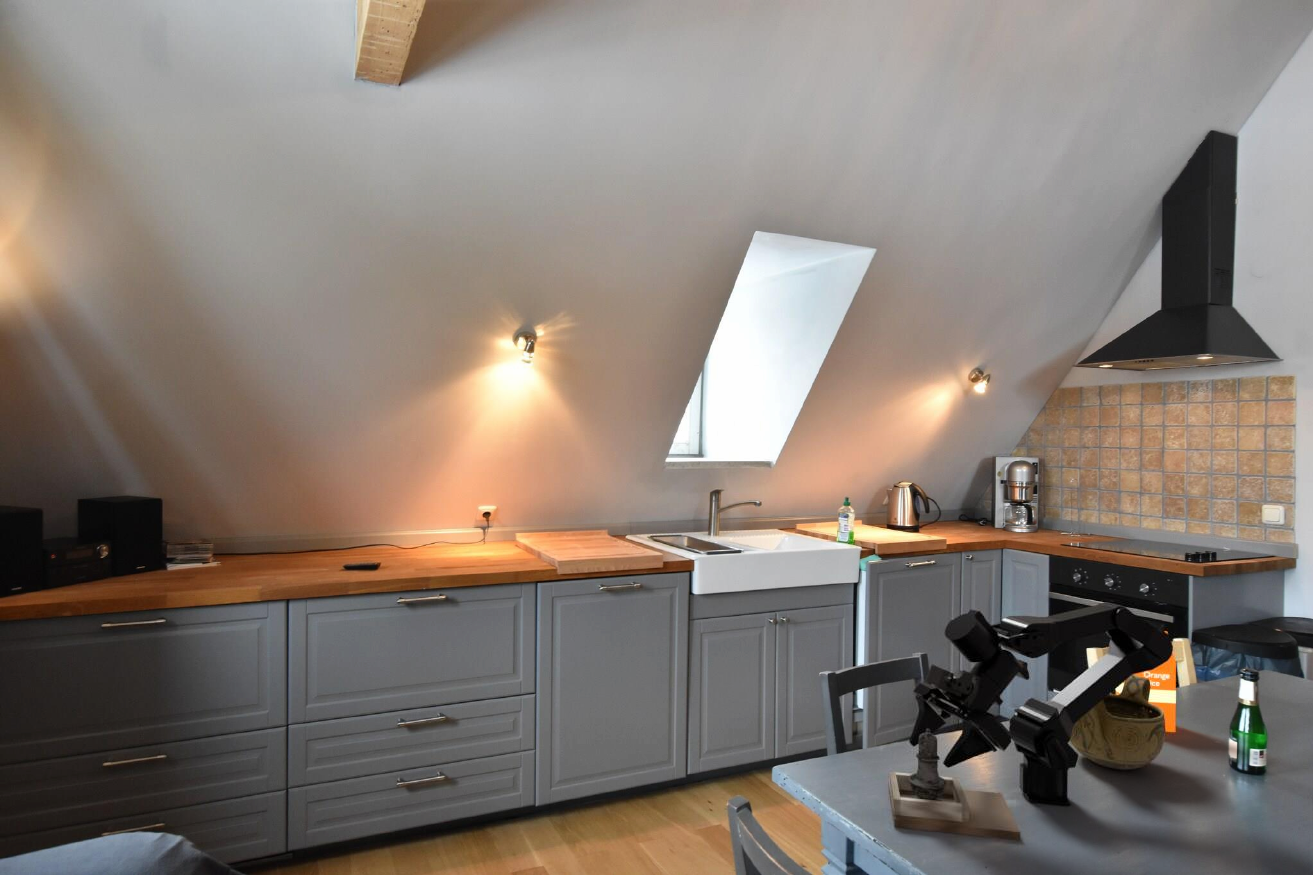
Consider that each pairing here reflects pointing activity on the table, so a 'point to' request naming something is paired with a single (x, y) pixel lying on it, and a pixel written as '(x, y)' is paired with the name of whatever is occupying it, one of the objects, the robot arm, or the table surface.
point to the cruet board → (951, 810)
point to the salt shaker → (927, 770)
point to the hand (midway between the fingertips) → (927, 754)
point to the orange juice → (1162, 690)
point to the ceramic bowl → (1122, 728)
